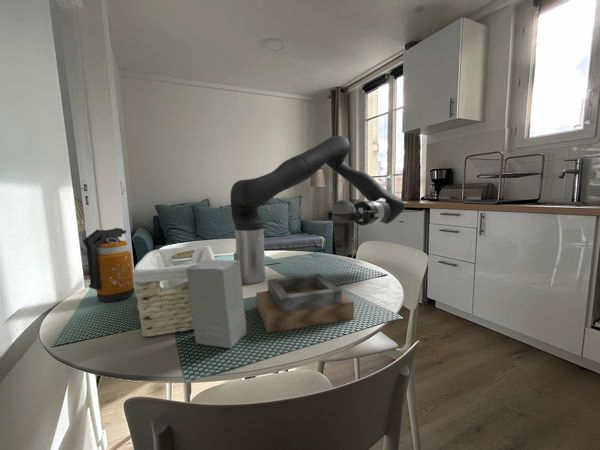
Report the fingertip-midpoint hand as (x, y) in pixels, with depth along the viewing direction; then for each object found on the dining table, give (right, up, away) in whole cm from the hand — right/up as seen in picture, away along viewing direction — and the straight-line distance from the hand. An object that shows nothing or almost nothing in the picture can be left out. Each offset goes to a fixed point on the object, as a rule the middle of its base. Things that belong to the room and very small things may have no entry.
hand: (339, 216), depth 80 cm
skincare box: (-27, -26, -23) cm, 44 cm away
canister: (-64, -23, +1) cm, 68 cm away
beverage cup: (+2, -11, +3) cm, 11 cm away
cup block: (-10, -24, -11) cm, 28 cm away
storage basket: (-40, -24, -10) cm, 48 cm away
